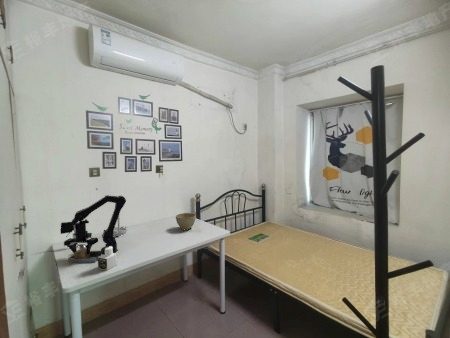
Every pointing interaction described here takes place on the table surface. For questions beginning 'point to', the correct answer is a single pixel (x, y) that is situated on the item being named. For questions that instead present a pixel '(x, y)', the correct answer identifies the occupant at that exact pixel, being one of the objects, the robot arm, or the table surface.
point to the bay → (91, 258)
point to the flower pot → (185, 220)
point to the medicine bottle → (107, 258)
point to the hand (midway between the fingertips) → (81, 254)
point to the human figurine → (73, 234)
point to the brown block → (81, 253)
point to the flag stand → (119, 229)
